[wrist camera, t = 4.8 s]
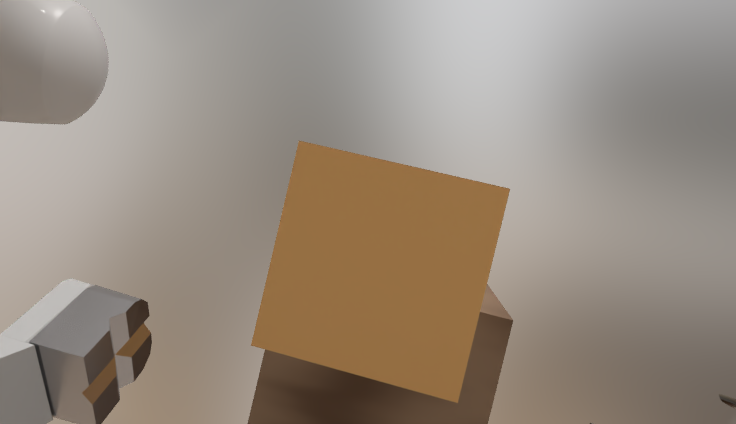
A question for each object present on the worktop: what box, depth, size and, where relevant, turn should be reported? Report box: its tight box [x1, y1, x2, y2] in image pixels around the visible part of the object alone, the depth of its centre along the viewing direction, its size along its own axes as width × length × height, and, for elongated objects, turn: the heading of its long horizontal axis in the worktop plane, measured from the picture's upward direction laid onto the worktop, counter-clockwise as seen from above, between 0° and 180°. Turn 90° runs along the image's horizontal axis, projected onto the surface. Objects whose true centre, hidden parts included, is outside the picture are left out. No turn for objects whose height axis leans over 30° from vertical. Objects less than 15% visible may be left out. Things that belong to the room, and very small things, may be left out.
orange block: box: [251, 141, 510, 403], centre depth 21 cm, size 4×24×4 cm, turn 172°
